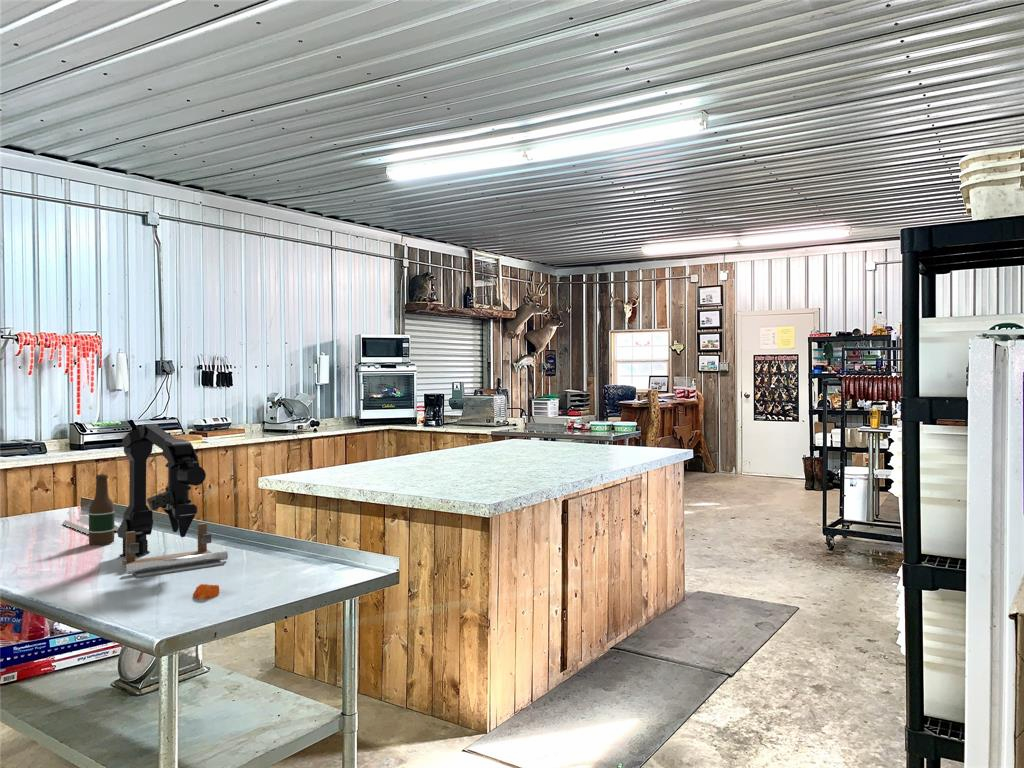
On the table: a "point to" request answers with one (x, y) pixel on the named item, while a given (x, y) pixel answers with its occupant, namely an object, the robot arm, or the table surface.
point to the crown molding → (85, 521)
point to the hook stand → (134, 548)
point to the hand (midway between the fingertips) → (178, 534)
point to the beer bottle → (101, 514)
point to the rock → (206, 591)
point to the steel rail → (176, 562)
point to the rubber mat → (178, 569)
